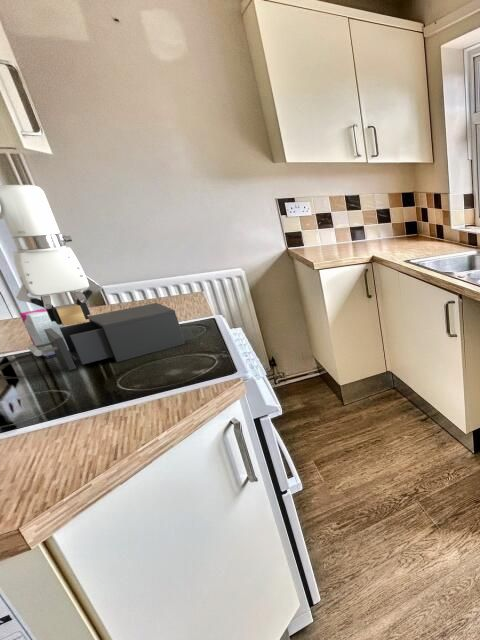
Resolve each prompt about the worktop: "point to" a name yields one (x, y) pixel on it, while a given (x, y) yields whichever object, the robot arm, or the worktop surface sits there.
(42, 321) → the supplement box
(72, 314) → the block
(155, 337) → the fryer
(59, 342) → the dark grey box
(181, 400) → the worktop surface
